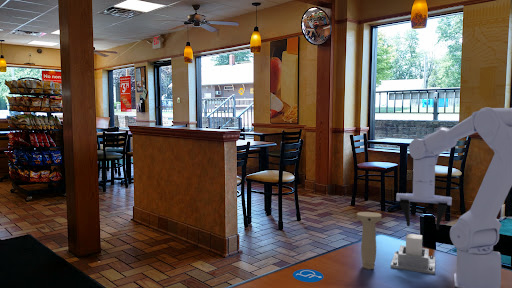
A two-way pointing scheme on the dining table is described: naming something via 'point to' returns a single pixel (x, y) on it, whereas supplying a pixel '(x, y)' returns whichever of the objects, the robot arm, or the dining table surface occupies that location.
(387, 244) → the dining table surface
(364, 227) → the handle
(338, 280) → the dining table surface
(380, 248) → the dining table surface
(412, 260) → the bracket
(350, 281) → the dining table surface
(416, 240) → the block
